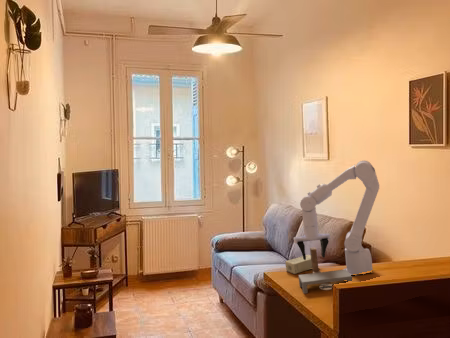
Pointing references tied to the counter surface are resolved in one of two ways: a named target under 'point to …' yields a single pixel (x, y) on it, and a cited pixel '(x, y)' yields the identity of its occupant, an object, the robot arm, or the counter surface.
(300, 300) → the counter surface
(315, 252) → the brown piece
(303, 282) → the u-shaped block
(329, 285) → the steel token
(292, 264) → the skincare box
